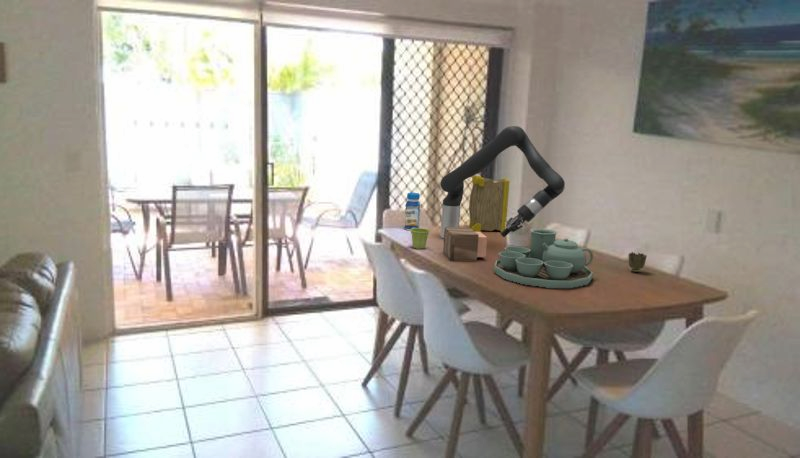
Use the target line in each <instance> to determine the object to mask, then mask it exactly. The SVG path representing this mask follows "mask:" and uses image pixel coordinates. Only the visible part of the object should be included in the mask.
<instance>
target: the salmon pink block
mask: <svg viewBox="0 0 800 458" xmlns="http://www.w3.org/2000/svg"><path fill="white" fill-rule="evenodd" d="M476 233H477V234H478V235H479V236H478V250H477V258H486V257H487V256H486V255H487V241H488V237H487V235H485V234H483V233H482V231H481V232H476Z"/></svg>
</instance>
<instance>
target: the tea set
mask: <svg viewBox="0 0 800 458" xmlns="http://www.w3.org/2000/svg"><path fill="white" fill-rule="evenodd" d="M529 231H530V244H529V248H527V247H522V246H506V247H504V251H500V252H498V257H499V259H498V260H496V261H495V263H494V268H493V269H494V273H495V274H496V276H499V277H500V278H502V279H504V280H505V279H506V280H505V281H509V282H512V281H513V283H516V282H517V283H516V284H519V283H520V285H523V284H525V285H524V286H527V285H531V286H530V287H535V286H539V287H538V288H542V287H546V288H545V289H575V288H579V286H580V287H584V286H583V285H585V286H588V285H589V283H590V282H591V280H592V279H593V278H594V272H593V271H592V270H590V269H589V268H588V267H587V266H589V265H590V264H591V263H592V261H593V259H594V254H593V252H592V250H591V249H589V248H588V247H584V248H583V247H582V248H580V247H578V243H577V242H576V241H573V240H570V239H569V238H563V239H557V240H556V235H557V234H558V231H557V230H553V229H548V228H531V229H530V230H529ZM585 251H586V252H588V253H589V255H590V258H589V260H588V261H586V260H587V258H586V254H585ZM574 287H575V288H574Z"/></svg>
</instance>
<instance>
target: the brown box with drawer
mask: <svg viewBox="0 0 800 458" xmlns="http://www.w3.org/2000/svg"><path fill="white" fill-rule="evenodd" d="M478 236H479V235H478V234H477V233H476V232H475V231H473V230H472V229H471V228H469V227H460V226H459V227H445V231H444V238H443V249H442V250H443V251H442V253H443V254H444V255H445V256H446V258H448V260H449V261H450V262H477V261H478V257H477V250H478Z"/></svg>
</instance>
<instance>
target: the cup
mask: <svg viewBox="0 0 800 458" xmlns="http://www.w3.org/2000/svg"><path fill="white" fill-rule="evenodd" d="M647 257H648V255H647V254H644V253H641V252H638V253H637V254H636V253H635V252H633V251H631V252H629V253H628V266H629V268H631V269H630V270H631V272H632V271H634V272H633V273H635V272H639V273H640V272H641V270H642V269H643V268H644V267H645V264H646V262H647Z"/></svg>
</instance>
